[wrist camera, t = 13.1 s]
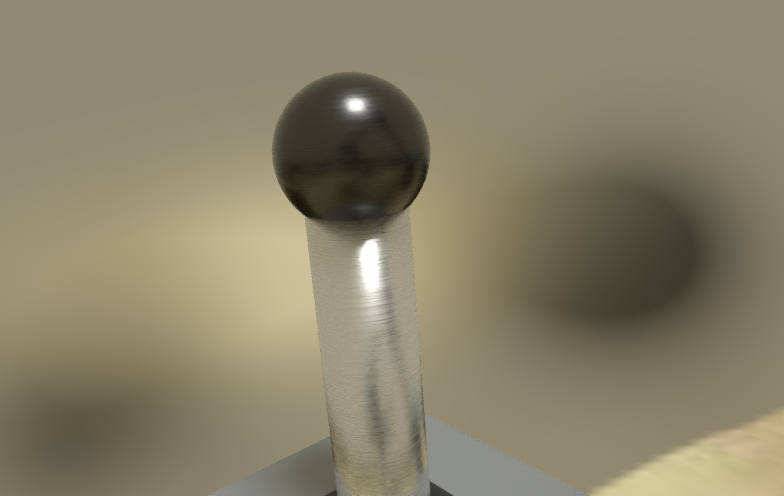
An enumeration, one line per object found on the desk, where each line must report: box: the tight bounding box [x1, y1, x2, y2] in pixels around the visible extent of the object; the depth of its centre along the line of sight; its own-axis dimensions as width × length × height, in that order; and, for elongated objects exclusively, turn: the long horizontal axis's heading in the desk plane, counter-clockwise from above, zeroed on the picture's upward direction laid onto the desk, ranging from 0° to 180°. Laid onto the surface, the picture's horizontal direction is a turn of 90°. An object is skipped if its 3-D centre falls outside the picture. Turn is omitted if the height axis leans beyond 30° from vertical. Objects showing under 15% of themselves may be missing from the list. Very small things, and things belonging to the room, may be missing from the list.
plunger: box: [272, 72, 431, 496], centre depth 22 cm, size 7×7×26 cm
